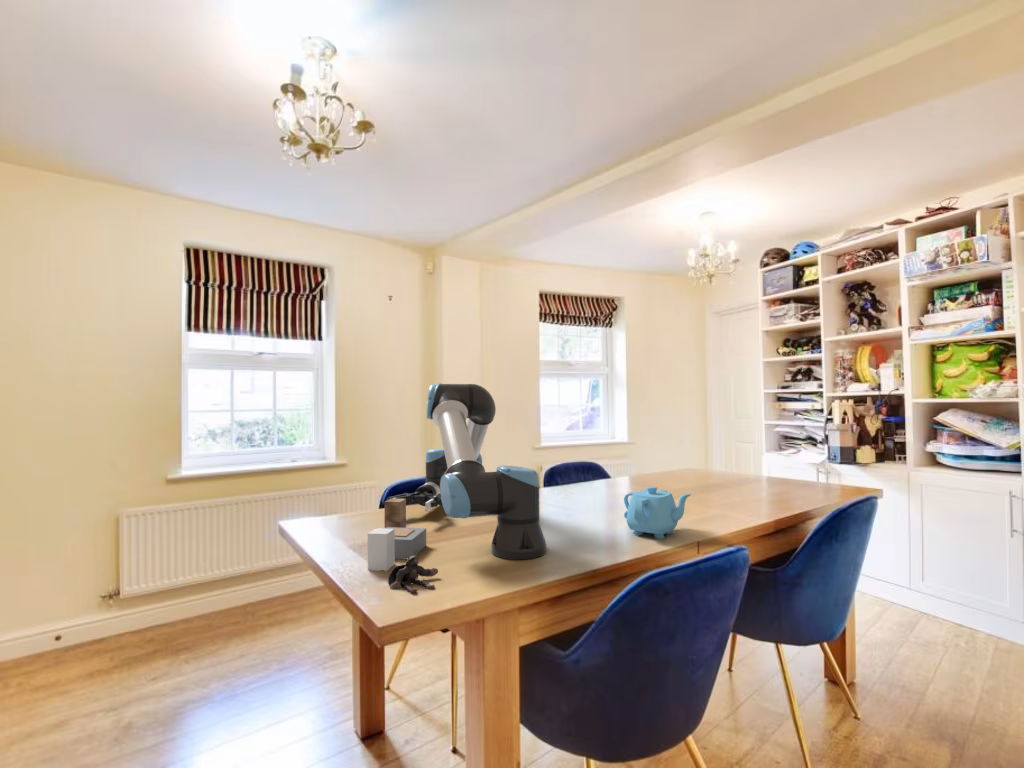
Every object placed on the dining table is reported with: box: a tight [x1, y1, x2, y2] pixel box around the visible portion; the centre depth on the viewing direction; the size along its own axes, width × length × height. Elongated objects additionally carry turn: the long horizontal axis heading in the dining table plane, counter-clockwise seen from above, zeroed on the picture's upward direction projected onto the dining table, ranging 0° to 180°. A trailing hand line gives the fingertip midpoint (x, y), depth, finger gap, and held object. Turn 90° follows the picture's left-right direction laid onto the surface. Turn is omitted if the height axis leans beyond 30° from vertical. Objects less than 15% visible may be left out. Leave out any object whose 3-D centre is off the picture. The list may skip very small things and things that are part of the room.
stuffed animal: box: [387, 555, 439, 594], centre depth 115 cm, size 12×10×12 cm
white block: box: [367, 527, 396, 572], centre depth 125 cm, size 5×5×9 cm
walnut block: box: [384, 498, 407, 529], centre depth 155 cm, size 5×5×11 cm
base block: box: [384, 527, 427, 559], centre depth 138 cm, size 12×12×5 cm
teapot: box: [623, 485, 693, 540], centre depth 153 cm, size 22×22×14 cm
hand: (406, 506), depth 164 cm, fingers open, 13 cm apart
